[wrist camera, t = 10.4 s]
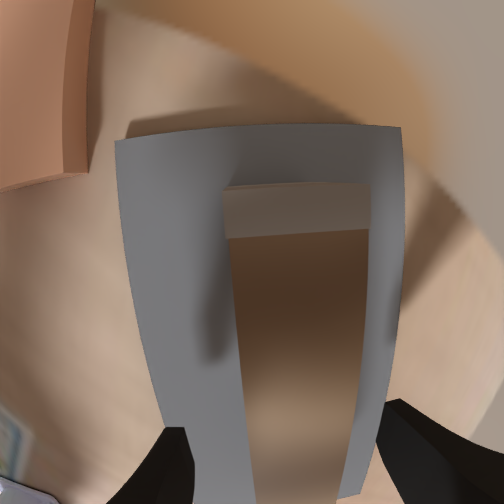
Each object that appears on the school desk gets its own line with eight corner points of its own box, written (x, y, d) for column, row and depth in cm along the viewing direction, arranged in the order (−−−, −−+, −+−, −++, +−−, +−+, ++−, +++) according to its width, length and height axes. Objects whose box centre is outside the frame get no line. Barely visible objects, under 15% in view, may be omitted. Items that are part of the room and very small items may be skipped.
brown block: (304, 479, 13) (321, 552, 9) (255, 485, 13) (263, 560, 8) (307, 181, 10) (370, 184, 5) (227, 186, 10) (221, 190, 5)
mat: (357, 487, 15) (360, 493, 14) (198, 505, 14) (197, 512, 14) (393, 129, 10) (400, 127, 10) (120, 143, 10) (114, 141, 9)
